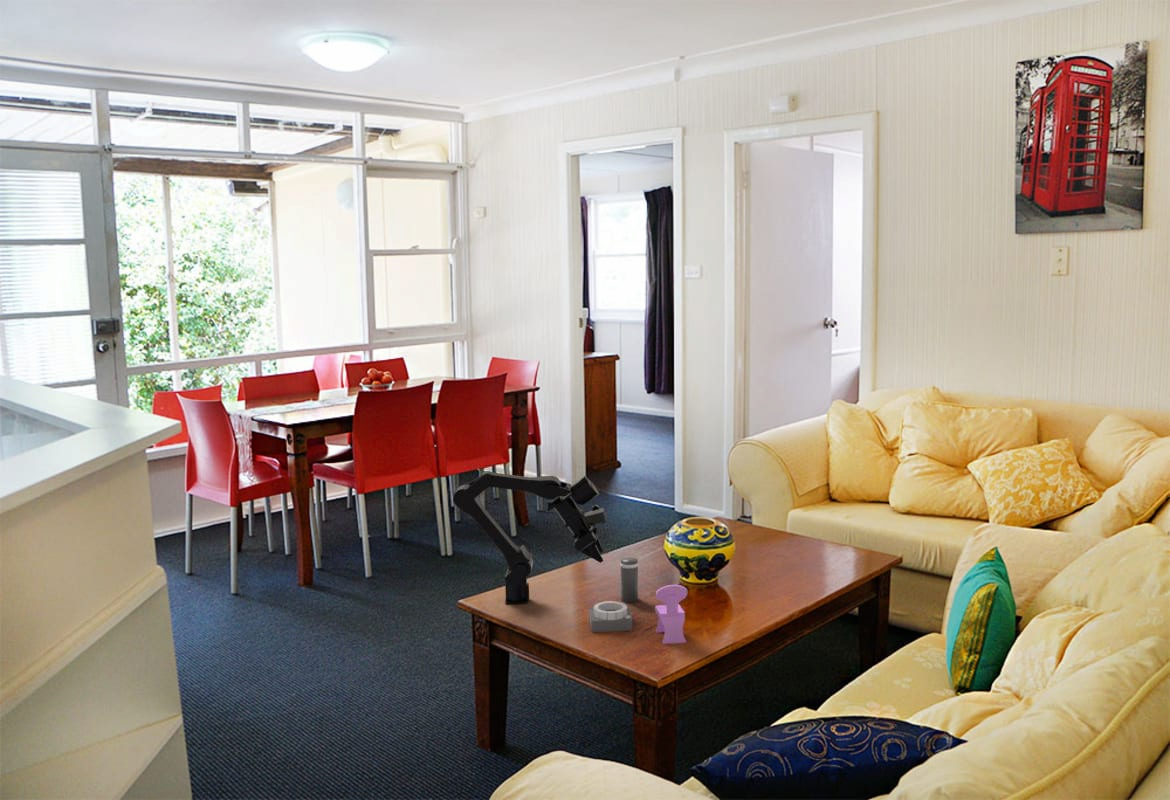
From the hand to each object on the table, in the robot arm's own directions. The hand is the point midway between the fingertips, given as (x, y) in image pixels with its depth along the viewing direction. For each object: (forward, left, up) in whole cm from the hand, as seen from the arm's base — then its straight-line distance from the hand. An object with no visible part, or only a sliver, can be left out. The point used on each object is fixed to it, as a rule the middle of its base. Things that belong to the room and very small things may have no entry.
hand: (602, 556), depth 277 cm
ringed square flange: (+1, -20, -13) cm, 24 cm away
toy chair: (+16, -30, -13) cm, 36 cm away
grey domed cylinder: (+8, -1, -13) cm, 15 cm away
